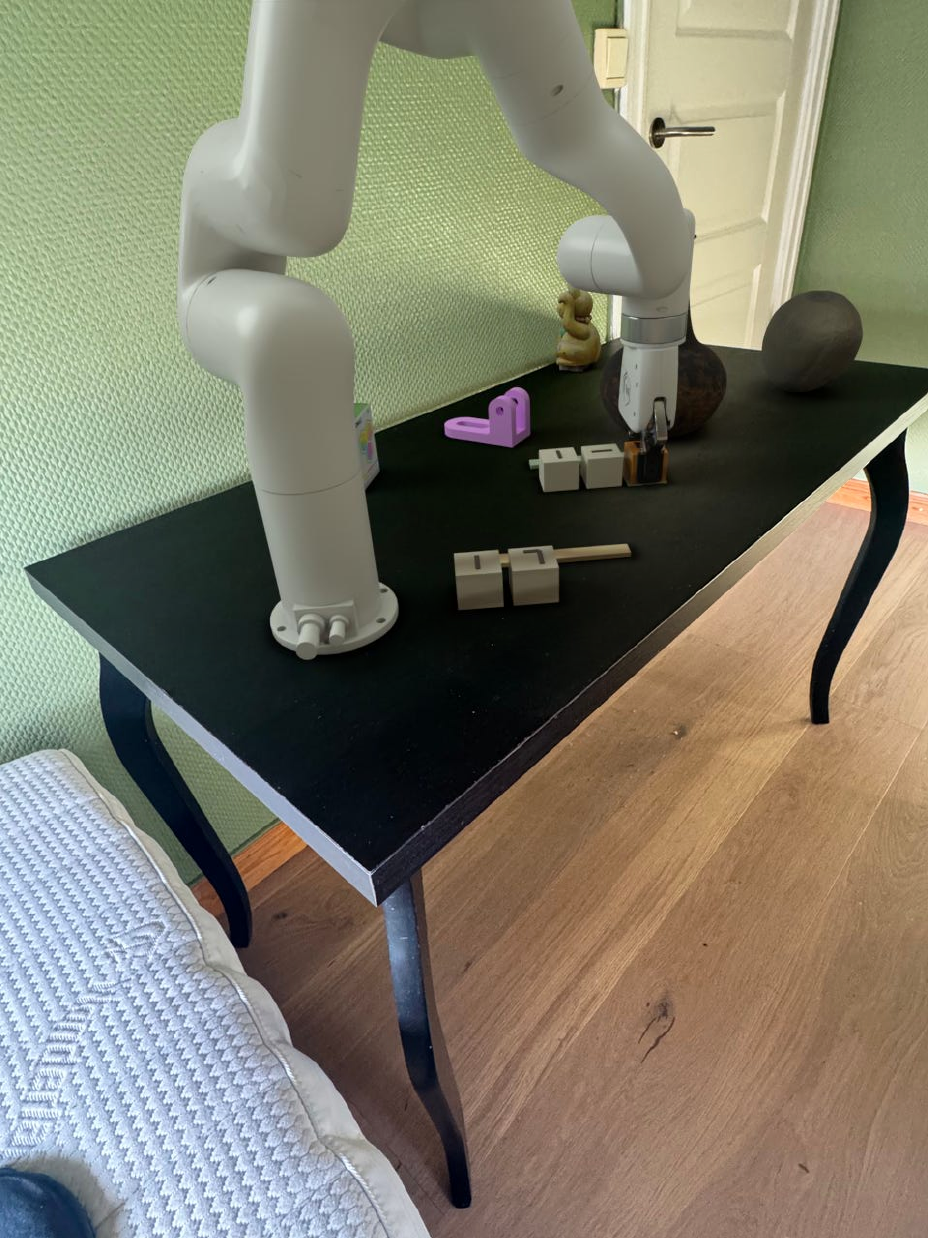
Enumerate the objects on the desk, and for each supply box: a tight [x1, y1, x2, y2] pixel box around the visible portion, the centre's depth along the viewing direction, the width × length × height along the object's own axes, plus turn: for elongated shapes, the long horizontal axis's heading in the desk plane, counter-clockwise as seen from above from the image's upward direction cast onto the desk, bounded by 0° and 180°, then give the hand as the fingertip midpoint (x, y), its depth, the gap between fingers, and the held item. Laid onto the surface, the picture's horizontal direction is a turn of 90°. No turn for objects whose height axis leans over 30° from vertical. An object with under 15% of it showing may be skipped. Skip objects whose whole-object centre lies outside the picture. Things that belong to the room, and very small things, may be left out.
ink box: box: [354, 402, 380, 491], centre depth 100 cm, size 7×4×13 cm, turn 168°
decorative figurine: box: [555, 282, 602, 373], centre depth 138 cm, size 10×8×15 cm
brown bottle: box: [599, 234, 728, 439], centre depth 106 cm, size 18×18×28 cm
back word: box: [528, 443, 668, 493], centre depth 100 cm, size 10×17×4 cm, turn 93°
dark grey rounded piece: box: [760, 290, 864, 393], centre depth 118 cm, size 14×14×15 cm
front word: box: [453, 543, 632, 611], centre depth 79 cm, size 10×19×4 cm, turn 93°
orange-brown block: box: [623, 441, 669, 484], centre depth 98 cm, size 4×4×4 cm
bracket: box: [443, 386, 531, 448], centre depth 114 cm, size 13×6×7 cm, turn 58°
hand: (643, 472), depth 99 cm, fingers closed on orange-brown block, 4 cm apart
